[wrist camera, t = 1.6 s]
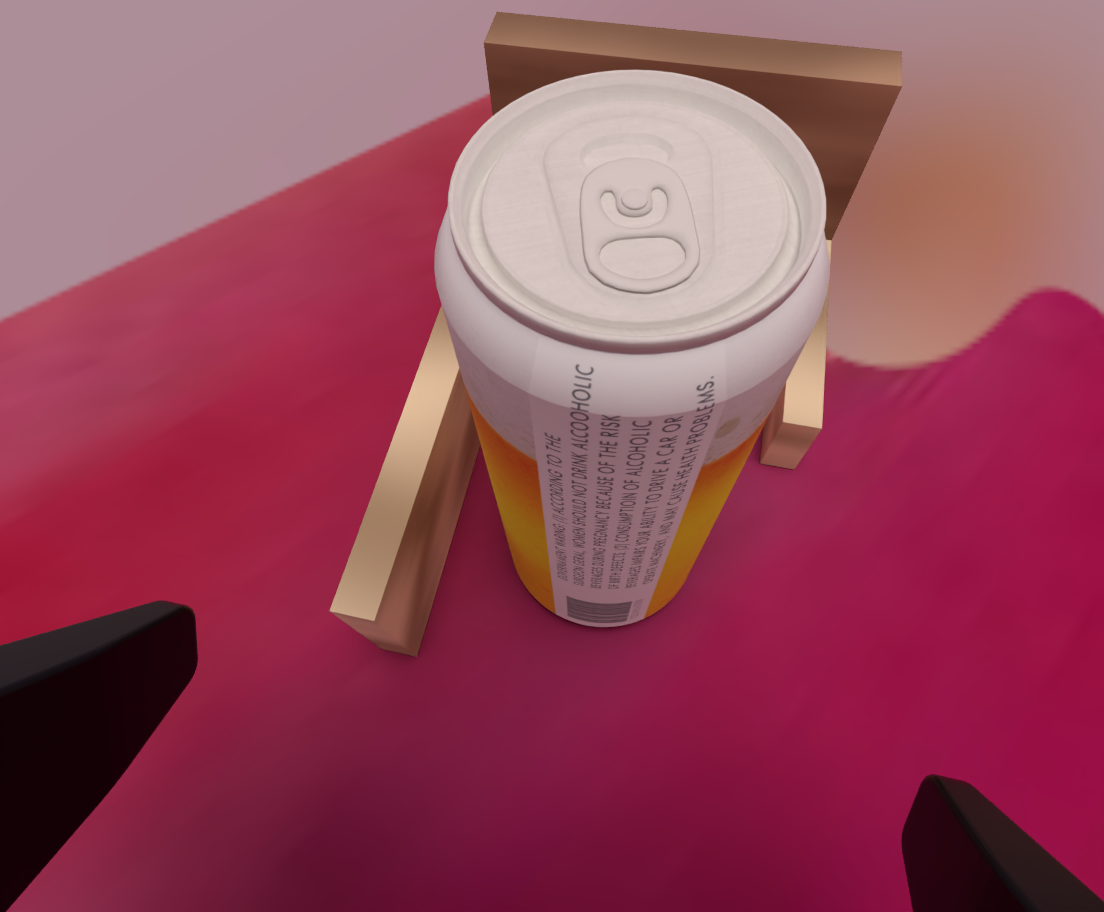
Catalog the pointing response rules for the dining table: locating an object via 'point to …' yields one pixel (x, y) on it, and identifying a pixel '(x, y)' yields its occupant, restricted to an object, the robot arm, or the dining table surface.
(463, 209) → the beer can
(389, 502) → the shelf
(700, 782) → the dining table surface
